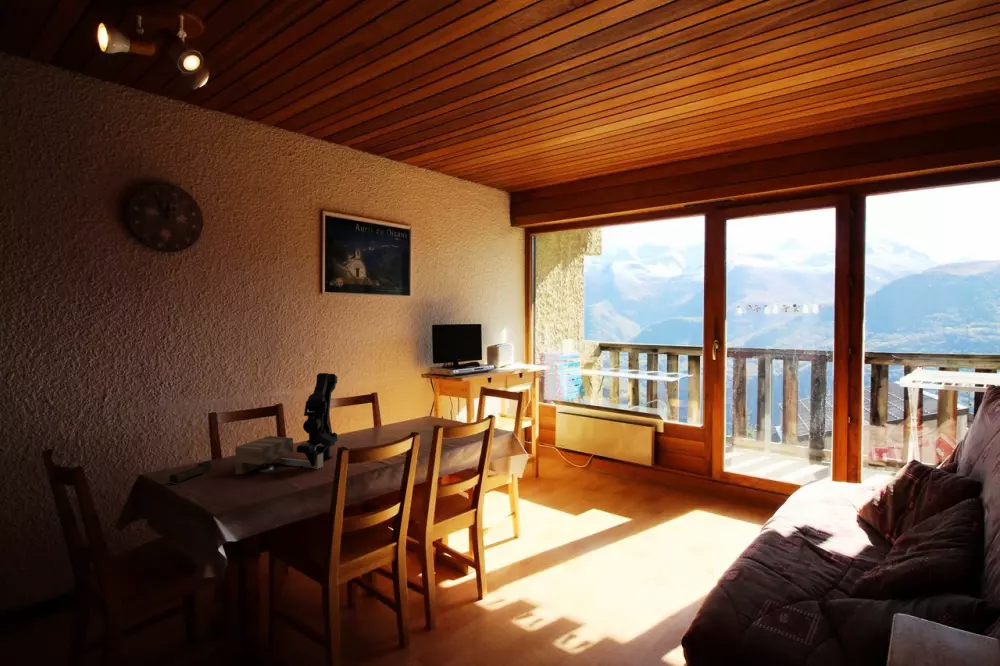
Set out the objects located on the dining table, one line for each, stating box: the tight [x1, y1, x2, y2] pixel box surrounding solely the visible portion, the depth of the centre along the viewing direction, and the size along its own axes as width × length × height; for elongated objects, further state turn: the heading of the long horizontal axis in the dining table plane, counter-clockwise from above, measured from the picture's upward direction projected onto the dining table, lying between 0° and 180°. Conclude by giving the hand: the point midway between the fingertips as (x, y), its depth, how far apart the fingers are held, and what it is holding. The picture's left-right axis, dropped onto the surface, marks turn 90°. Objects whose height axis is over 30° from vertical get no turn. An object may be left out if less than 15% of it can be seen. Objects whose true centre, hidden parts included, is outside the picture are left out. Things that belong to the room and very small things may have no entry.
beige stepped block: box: [234, 435, 294, 475], centre depth 224 cm, size 20×12×11 cm, turn 164°
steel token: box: [257, 464, 275, 473], centre depth 222 cm, size 6×6×2 cm
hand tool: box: [168, 460, 213, 484], centre depth 212 cm, size 19×4×5 cm, turn 162°
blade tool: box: [279, 452, 324, 470], centre depth 228 cm, size 4×19×6 cm, turn 75°
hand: (316, 464), depth 226 cm, fingers closed on blade tool, 4 cm apart
